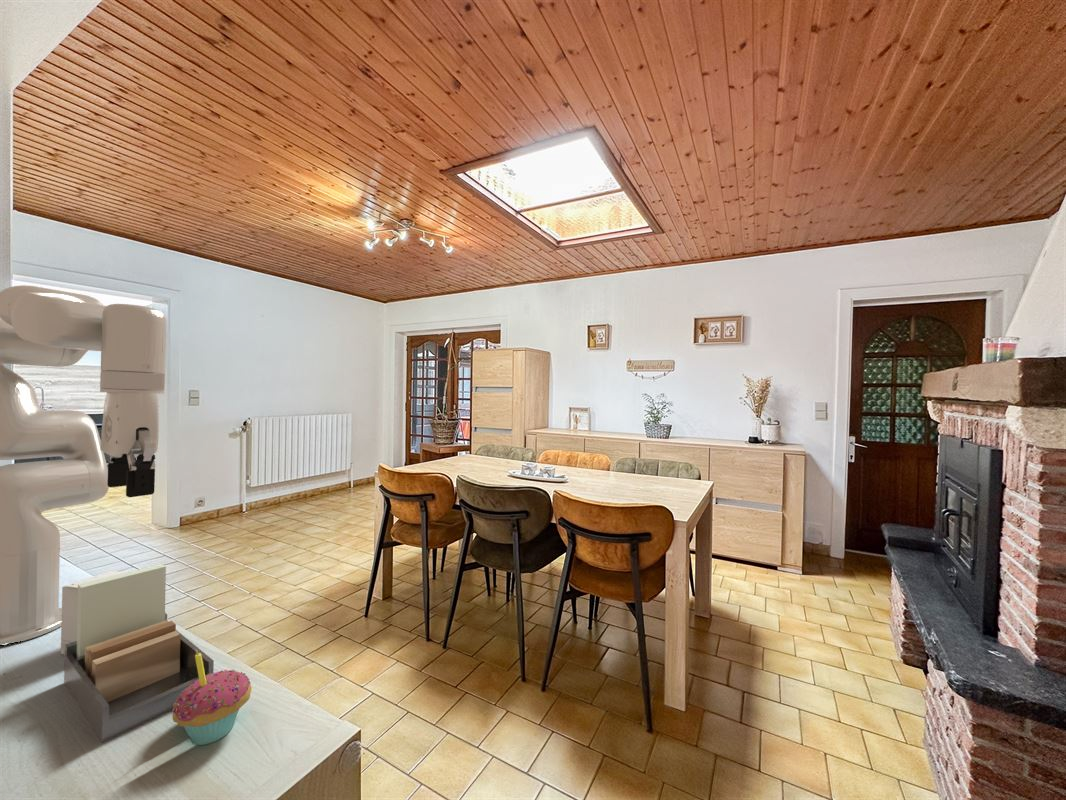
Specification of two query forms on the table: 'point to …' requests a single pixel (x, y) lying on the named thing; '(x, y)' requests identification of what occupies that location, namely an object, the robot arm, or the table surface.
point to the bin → (134, 705)
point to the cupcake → (211, 703)
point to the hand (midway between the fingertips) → (130, 490)
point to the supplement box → (74, 609)
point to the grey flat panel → (119, 605)
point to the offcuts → (133, 659)
